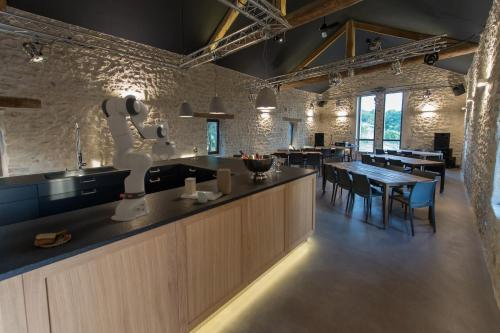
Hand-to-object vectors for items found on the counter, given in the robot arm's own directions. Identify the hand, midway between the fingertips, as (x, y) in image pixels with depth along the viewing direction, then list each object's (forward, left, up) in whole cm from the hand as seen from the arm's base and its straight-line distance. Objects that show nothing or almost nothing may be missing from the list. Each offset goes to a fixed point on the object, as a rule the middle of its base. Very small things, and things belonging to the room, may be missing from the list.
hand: (164, 160), depth 195 cm
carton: (+7, -18, -27) cm, 33 cm away
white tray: (+7, -28, -29) cm, 41 cm away
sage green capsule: (-6, -35, -29) cm, 46 cm away
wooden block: (+22, -41, -29) cm, 55 cm away
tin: (+12, -38, -27) cm, 48 cm away
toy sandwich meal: (-87, +2, -30) cm, 92 cm away
